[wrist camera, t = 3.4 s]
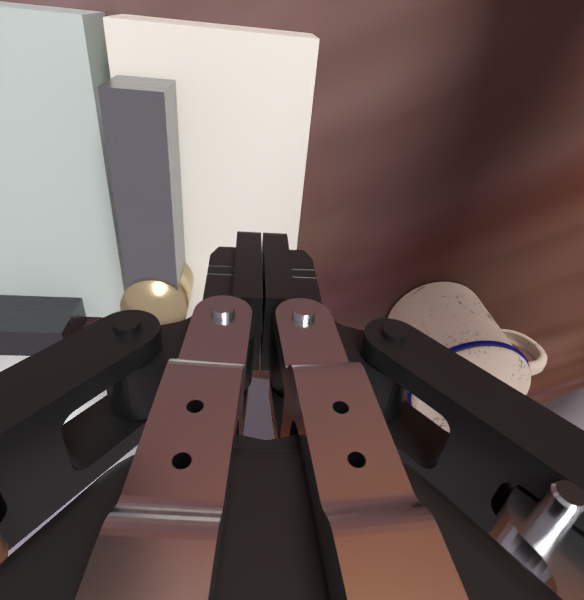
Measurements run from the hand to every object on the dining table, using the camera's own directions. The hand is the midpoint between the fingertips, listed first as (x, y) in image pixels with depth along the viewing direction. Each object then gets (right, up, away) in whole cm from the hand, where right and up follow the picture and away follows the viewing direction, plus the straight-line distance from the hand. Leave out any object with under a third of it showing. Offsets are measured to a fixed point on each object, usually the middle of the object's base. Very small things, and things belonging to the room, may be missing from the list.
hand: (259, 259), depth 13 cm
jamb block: (-4, +7, +18) cm, 20 cm away
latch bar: (-7, +5, +14) cm, 16 cm away
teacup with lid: (+15, -3, +27) cm, 31 cm away
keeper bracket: (-17, -2, +18) cm, 25 cm away
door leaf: (-17, +8, +16) cm, 25 cm away
